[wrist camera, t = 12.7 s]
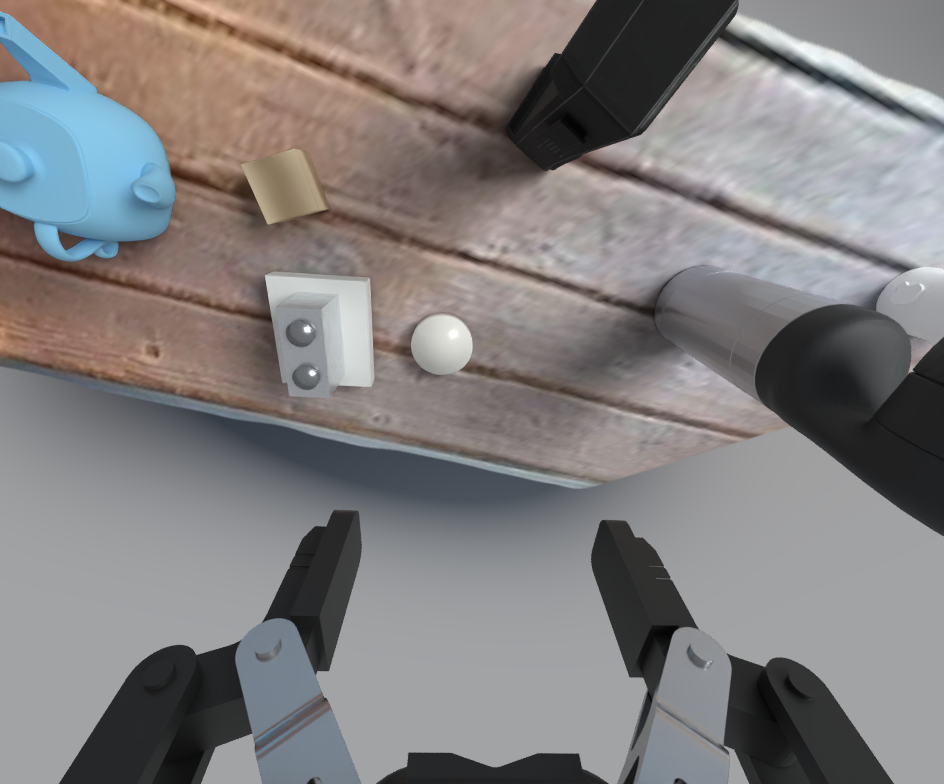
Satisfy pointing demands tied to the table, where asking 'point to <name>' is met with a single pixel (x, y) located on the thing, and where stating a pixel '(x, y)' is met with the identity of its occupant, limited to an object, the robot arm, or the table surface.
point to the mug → (916, 303)
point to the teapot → (76, 157)
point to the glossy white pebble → (441, 343)
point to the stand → (352, 314)
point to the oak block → (286, 186)
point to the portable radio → (615, 75)
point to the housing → (311, 343)
